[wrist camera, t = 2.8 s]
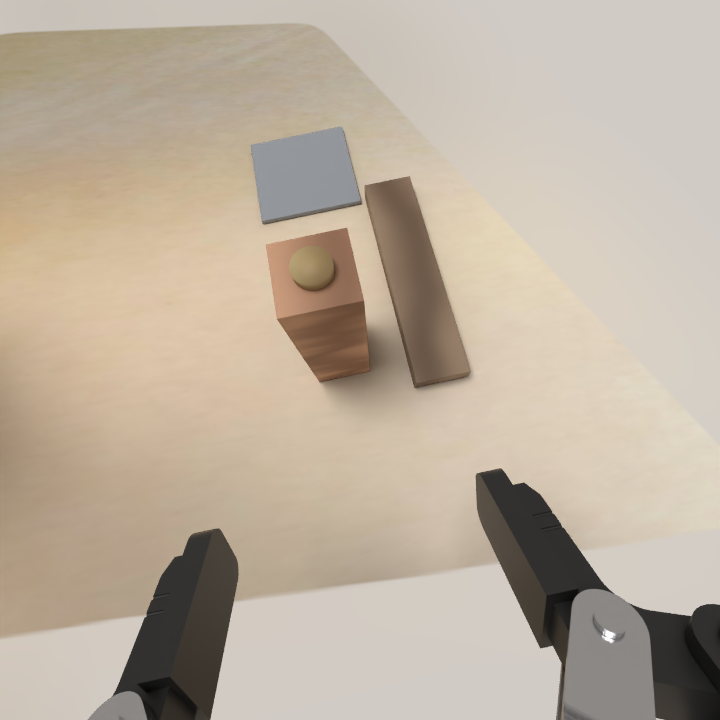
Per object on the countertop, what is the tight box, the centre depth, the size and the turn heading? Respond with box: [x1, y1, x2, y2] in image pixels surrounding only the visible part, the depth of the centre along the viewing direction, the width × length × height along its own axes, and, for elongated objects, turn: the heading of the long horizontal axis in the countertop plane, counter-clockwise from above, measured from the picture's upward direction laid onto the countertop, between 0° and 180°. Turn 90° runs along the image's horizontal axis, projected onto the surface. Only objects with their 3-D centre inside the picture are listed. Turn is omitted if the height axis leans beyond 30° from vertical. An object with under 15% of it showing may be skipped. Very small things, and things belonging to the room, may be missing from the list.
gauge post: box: [266, 228, 370, 382], centre depth 22 cm, size 4×4×13 cm
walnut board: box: [365, 176, 471, 387], centre depth 29 cm, size 4×18×2 cm, turn 12°
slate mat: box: [251, 127, 361, 224], centre depth 33 cm, size 9×9×1 cm
